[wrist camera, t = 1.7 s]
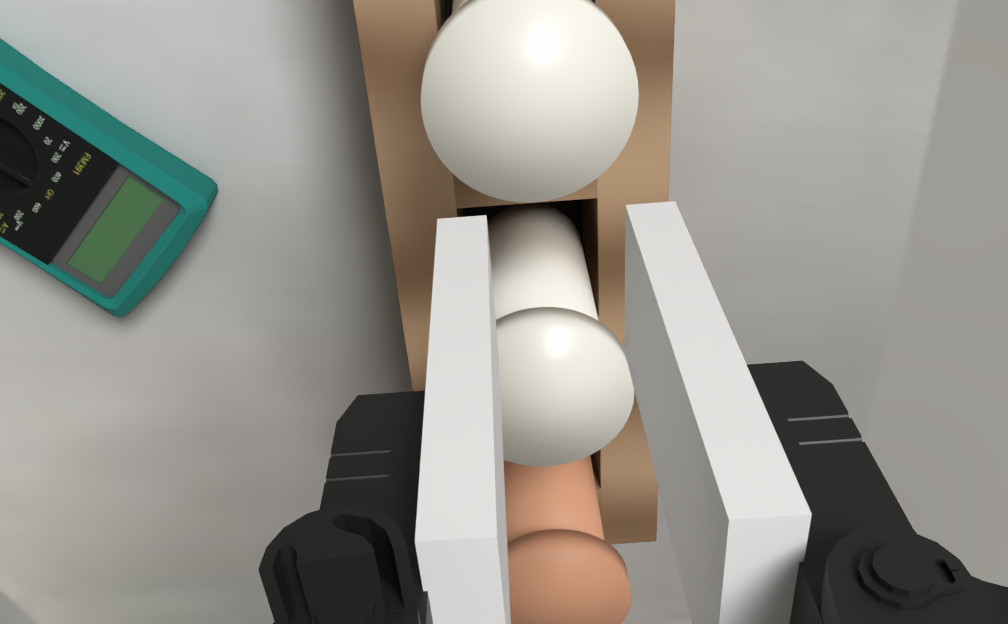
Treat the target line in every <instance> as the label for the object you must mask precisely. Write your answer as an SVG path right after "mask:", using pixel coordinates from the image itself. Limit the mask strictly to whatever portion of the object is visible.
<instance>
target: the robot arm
mask: <svg viewBox="0 0 1008 624" xmlns="http://www.w3.org/2000/svg"><path fill="white" fill-rule="evenodd" d="M624 351H625V355H626V359H627V363H628V367H629V371H630V375H631V379H632V383H633V387H634V391H635V395H636V399H637V403H638V407H639V411H640V415H641V419H642V423H643V427H644V431H645V435H646V439H647V443H648V447H649V451H650V455H651V459H652V463H653V467H654V471H655V475H656V479H657V483H658V487H659V491H660V495H661V499H662V503H663V507H664V511H665V515H666V519H667V523H668V527H669V531H670V535H671V539H672V543H673V547H674V551H675V555H676V559H677V563H678V567H679V571H680V575H681V579H682V583H683V587H684V591H685V595H686V599H687V603H688V607H689V611H690V615H691V619H692V623H693V624H1008V587H1004V586H1000V585H997V584H993V583H989V582H985V581H982V580H980V579H977V578H975V577H973V576H971V575H970V574H969V572H968V571H967V569H966V568H965V567H964V565H963V564H962V562H961V561H960V560H959V559H958V558H957V557H956V556H954V555H953V554H952V553H950V552H949V551H948V550H946V549H945V548H944V547H942V546H941V545H939V544H938V543H937V542H935V541H932V540H930V539H927V538H925V537H923V536H920V535H918V534H916V532H915V531H914V529H913V528H912V526H911V524H910V522H909V521H908V519H907V517H906V515H905V513H904V512H903V510H902V508H901V506H900V504H899V503H898V501H897V499H896V497H895V496H894V494H893V492H892V490H891V488H890V487H889V485H888V483H887V481H886V479H885V478H884V476H883V474H882V472H881V470H880V469H879V467H878V465H877V463H876V462H875V460H874V458H873V456H872V454H871V453H870V451H869V449H868V447H867V445H866V443H865V442H862V440H861V434H860V433H859V431H858V429H857V427H856V425H855V424H854V422H853V420H852V418H849V417H848V411H847V409H846V407H845V406H844V404H843V402H842V400H841V399H840V397H839V395H838V393H837V391H836V390H835V388H834V386H833V384H832V383H830V382H829V381H828V380H827V379H825V378H824V377H823V376H821V375H820V374H819V373H818V372H816V371H815V370H814V369H813V368H811V367H810V366H809V365H807V364H806V363H805V362H804V361H792V362H778V363H764V364H750V365H746V363H745V360H744V358H743V356H742V353H741V351H740V349H739V347H738V344H737V342H736V340H735V337H734V335H733V333H732V331H731V328H730V326H729V324H728V321H727V319H726V317H725V315H724V312H723V310H722V308H721V305H720V303H719V301H718V299H717V296H716V294H715V292H714V289H713V287H712V285H711V283H710V280H709V278H708V276H707V273H706V271H705V269H704V267H703V264H702V262H701V260H700V257H699V255H698V253H697V251H696V248H695V246H694V244H693V241H692V239H691V237H690V235H689V232H688V230H687V228H686V225H685V223H684V221H683V219H682V216H681V214H680V212H679V209H678V207H677V205H676V203H675V201H671V202H657V203H644V204H630V205H625V338H624ZM258 570H259V573H260V576H261V579H262V582H263V586H264V589H265V592H266V595H267V598H268V602H269V605H270V608H271V611H272V614H273V618H274V621H275V622H274V623H273V624H511V617H510V595H509V573H508V550H507V528H506V505H505V483H504V460H503V438H502V416H501V393H500V371H499V354H498V342H497V330H496V319H495V307H494V295H493V284H492V272H491V261H490V249H489V237H488V226H487V215H482V216H468V217H455V218H441V219H437V231H436V245H435V259H434V274H433V288H432V302H431V317H430V331H429V345H428V359H427V374H426V388H425V391H412V392H398V393H384V394H370V395H358V396H357V397H356V398H355V400H354V401H353V402H352V403H351V405H350V406H349V407H348V409H347V410H346V411H345V412H344V414H343V415H342V416H341V418H340V419H339V420H338V421H337V424H336V429H335V434H334V439H333V444H332V449H331V458H330V460H329V465H328V470H327V475H326V483H325V485H324V490H323V495H322V500H321V506H320V510H318V511H314V512H311V513H308V514H306V515H304V516H303V517H301V518H299V519H298V520H296V521H294V522H293V523H291V524H289V525H288V526H286V527H284V528H283V529H282V531H281V532H280V533H279V534H278V535H277V536H276V537H275V538H274V540H273V541H272V542H271V543H270V544H269V545H268V546H267V547H266V550H265V553H264V556H263V558H262V561H261V564H260V567H259V569H258Z"/></svg>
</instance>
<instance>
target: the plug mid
mask: <svg viewBox="0 0 1008 624" xmlns="http://www.w3.org/2000/svg"><path fill="white" fill-rule="evenodd" d="M487 226H488V237H489V249H490V261H491V272H492V284H493V295H494V307H495V319H496V330H497V342H498V354H499V371H500V393H501V416H502V438H503V460H506V461H509V462H512V463H516V464H521V465H526V466H555V465H562V464H567V463H571V462H574V461H577V460H580V459H583V458H585V457H587V456H589V455H591V454H593V453H595V452H597V451H598V450H600V449H601V448H603V447H604V446H606V445H607V444H608V443H609V442H610V441H611V440H613V439H614V438H615V437H616V436H617V434H618V433H619V432H620V431H621V430H622V428H623V427H624V425H625V423H626V422H627V420H628V418H629V415H630V413H631V410H632V406H633V402H634V387H633V383H632V379H631V375H630V371H629V367H628V363H627V359H626V355H625V351H624V348H623V346H622V345H621V343H620V341H619V340H618V338H617V337H616V336H615V335H614V334H613V332H612V331H611V330H609V329H608V328H607V327H606V326H605V325H604V324H602V323H601V322H599V320H598V316H597V311H596V307H595V302H594V297H593V293H592V288H591V284H590V279H589V275H588V270H587V265H586V261H585V256H584V252H583V247H582V242H581V238H580V235H579V232H578V230H577V228H576V227H575V225H574V224H573V223H572V221H571V220H570V219H569V218H568V217H567V216H566V215H564V214H563V213H561V212H560V211H558V210H556V209H554V208H552V207H549V206H546V205H541V204H520V205H515V206H512V207H509V208H507V209H504V210H503V211H501V212H499V213H498V214H496V215H495V216H493V217H492V218H491V219H490V220H489V221H488V222H487Z"/></svg>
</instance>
